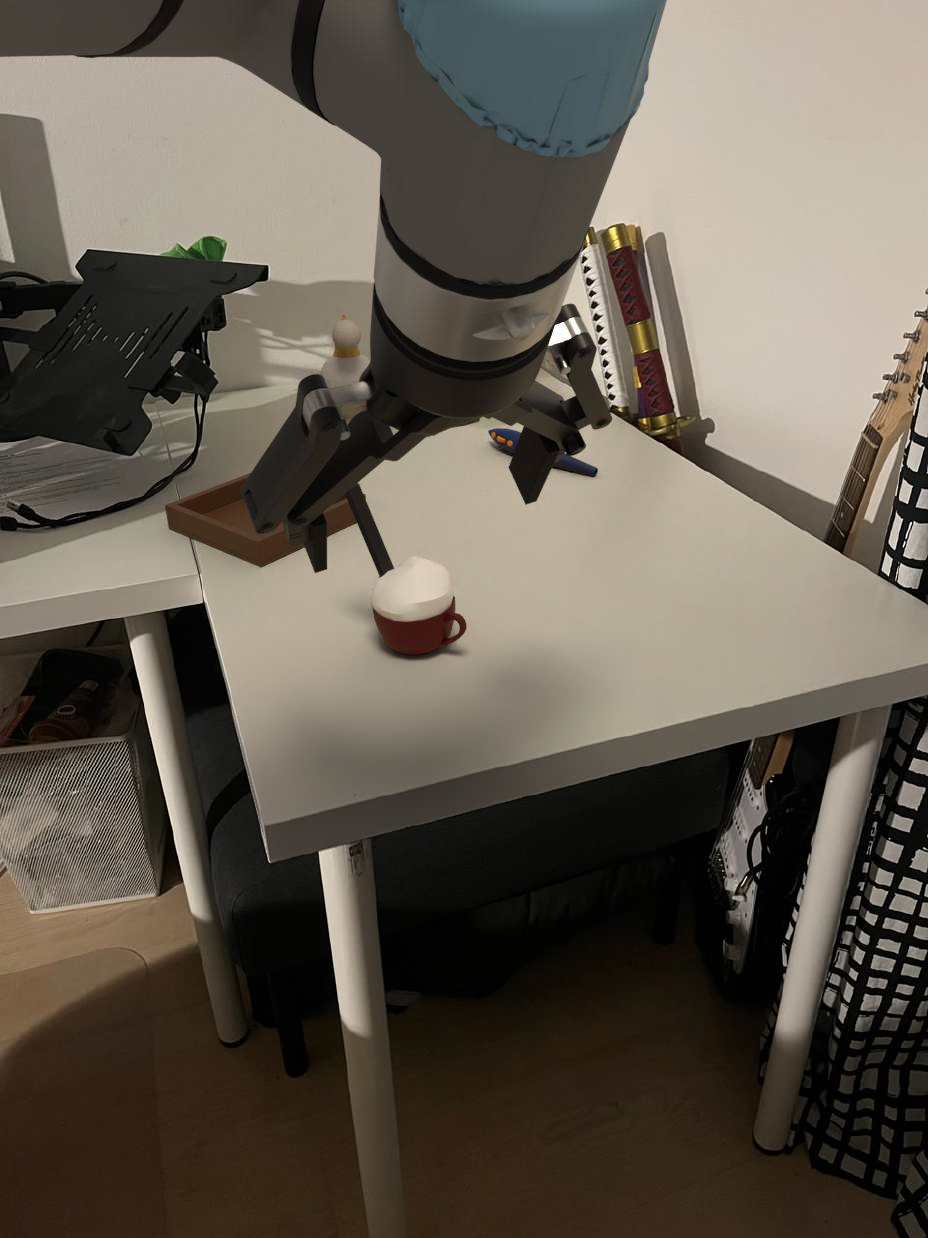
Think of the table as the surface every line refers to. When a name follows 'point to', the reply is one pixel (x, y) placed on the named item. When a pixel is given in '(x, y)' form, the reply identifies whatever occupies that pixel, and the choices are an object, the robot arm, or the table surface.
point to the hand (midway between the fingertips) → (420, 517)
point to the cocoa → (407, 592)
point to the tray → (241, 523)
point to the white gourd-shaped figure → (345, 356)
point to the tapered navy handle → (509, 442)
